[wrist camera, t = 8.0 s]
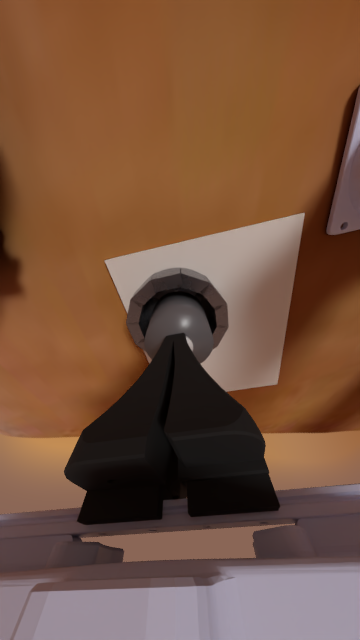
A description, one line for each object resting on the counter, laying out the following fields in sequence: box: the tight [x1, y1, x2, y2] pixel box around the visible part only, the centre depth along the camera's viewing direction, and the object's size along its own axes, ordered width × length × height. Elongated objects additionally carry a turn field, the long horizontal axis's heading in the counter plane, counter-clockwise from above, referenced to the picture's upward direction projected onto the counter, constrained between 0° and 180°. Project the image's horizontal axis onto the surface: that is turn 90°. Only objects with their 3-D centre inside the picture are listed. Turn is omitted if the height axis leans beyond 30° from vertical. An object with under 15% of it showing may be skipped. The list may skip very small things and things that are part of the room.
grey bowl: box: [126, 267, 229, 351], centre depth 14 cm, size 8×8×3 cm
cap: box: [144, 291, 214, 364], centre depth 13 cm, size 5×5×5 cm
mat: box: [105, 213, 305, 392], centre depth 17 cm, size 16×20×1 cm
